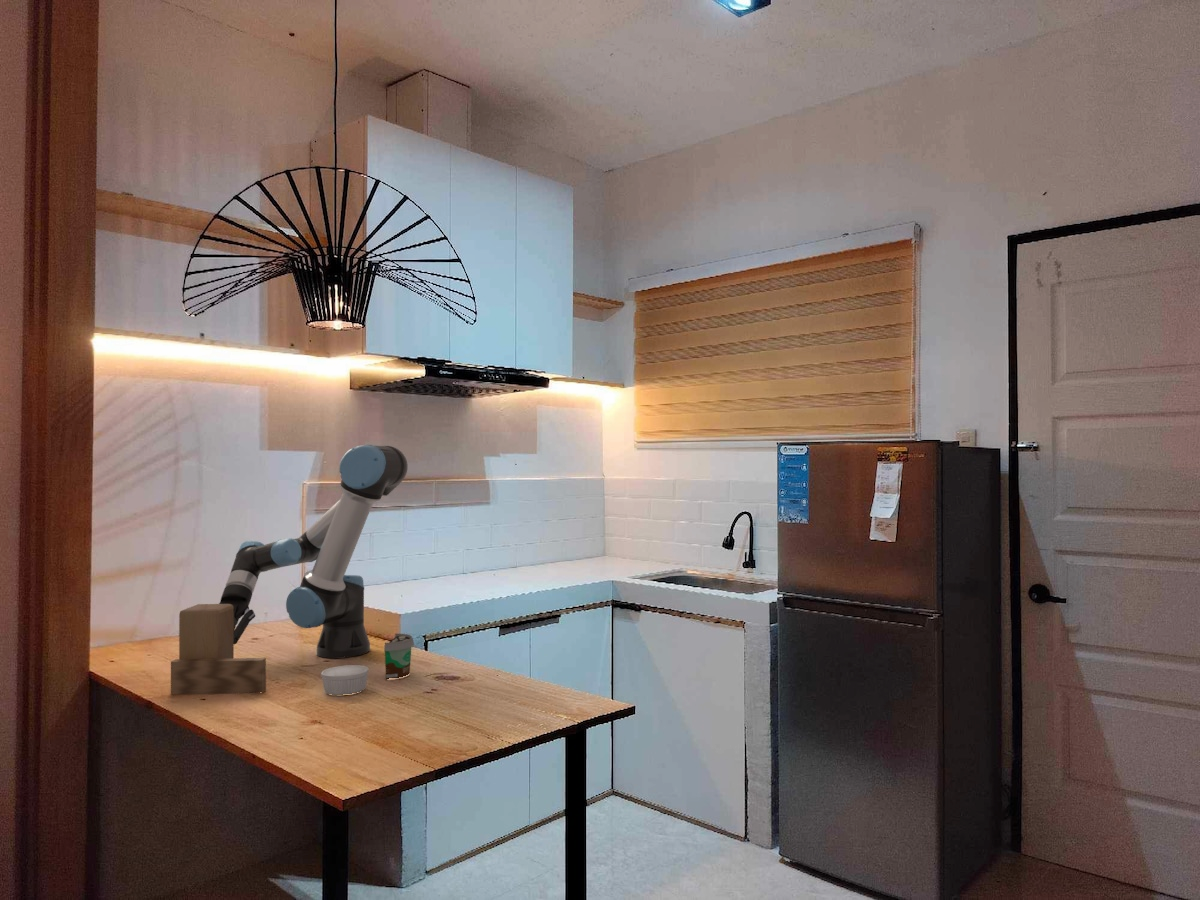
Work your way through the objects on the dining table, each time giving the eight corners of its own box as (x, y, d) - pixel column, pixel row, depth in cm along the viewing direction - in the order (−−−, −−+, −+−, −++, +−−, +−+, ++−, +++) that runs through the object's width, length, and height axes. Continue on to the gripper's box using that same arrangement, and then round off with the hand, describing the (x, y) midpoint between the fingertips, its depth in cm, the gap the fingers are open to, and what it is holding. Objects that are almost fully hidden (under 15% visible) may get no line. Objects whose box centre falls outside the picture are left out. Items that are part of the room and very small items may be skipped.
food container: (408, 682, 212) (408, 642, 212) (384, 682, 211) (384, 643, 212) (418, 669, 224) (418, 632, 224) (395, 670, 224) (395, 633, 224)
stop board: (265, 690, 205) (265, 657, 205) (262, 693, 202) (262, 660, 202) (175, 691, 204) (175, 659, 204) (170, 694, 202) (170, 661, 202)
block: (235, 680, 214) (235, 603, 215) (218, 691, 204) (218, 610, 205) (196, 681, 214) (196, 603, 214) (177, 691, 204) (177, 610, 204)
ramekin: (312, 692, 203) (312, 670, 203) (354, 683, 211) (354, 662, 211) (334, 701, 195) (334, 678, 195) (377, 691, 203) (377, 670, 203)
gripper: (265, 598, 235) (241, 673, 218) (219, 597, 234) (191, 673, 218) (258, 583, 229) (233, 659, 213) (211, 582, 229) (182, 658, 212)
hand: (212, 666), depth 215 cm, fingers closed
